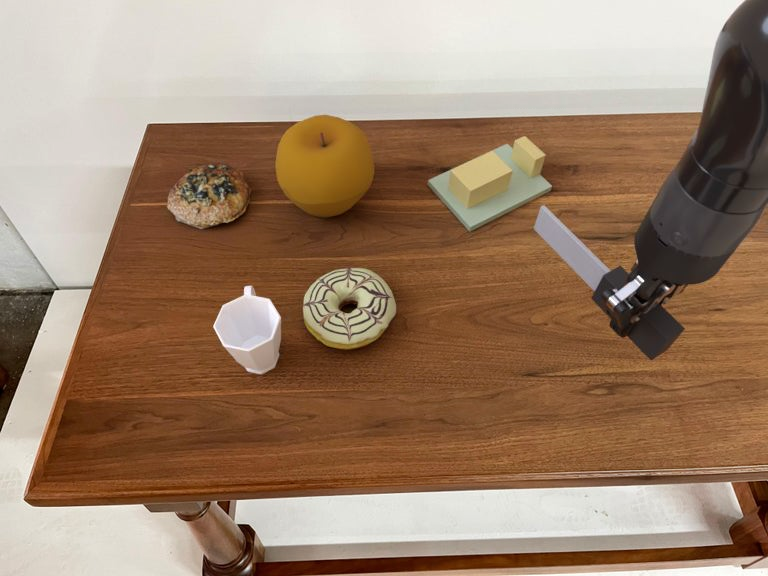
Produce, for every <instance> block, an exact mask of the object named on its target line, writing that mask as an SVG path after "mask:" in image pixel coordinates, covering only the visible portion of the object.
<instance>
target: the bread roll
mask: <svg viewBox="0 0 768 576" xmlns="http://www.w3.org/2000/svg"><path fill="white" fill-rule="evenodd" d="M251 194H252V188H251V187H250V184H249V182H248V179H247V178H246V176H245V174H243V172H242V171H240V170H238V169H237V168H235V167H233V166H231V165H229V164H226V163H221V162H214V163H208V164H202V165H199V166H196V167H193V168H192V169H189V170H188V171H186V173H185V174H184V175H182V177H180V179H179V180H177V182H176V183H175V184H174V185H173V186H172V188H170V191H169V193H168V197H167V204H166V208H167V210H168V211H170V213H172V215H173V216H174V218H175V221H176V222H181V223H182V224H185V225H188V226H192V227H193V228H197V229H200V230H203V229H207V228H211V227H214V226H215V227H216V226H218V225H220V224H224V223H226V224H228V223H230V222H233V221H234V220H236V219H238V218H240V217H241V216H242V215H243V214H244V213H245V212H246V211H247V207H248V205H249V203H250V201H251V198H250V196H251Z"/></svg>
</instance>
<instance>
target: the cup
mask: <svg viewBox="0 0 768 576" xmlns="http://www.w3.org/2000/svg"><path fill="white" fill-rule="evenodd" d="M243 288H244V289H243V295H241V296H239V297H237V298H235V299H233V300H231V301H229V302H227V303H224V304H223V305H222V306H221V308H220V310H219V312H218V315H217V317H216V319H215V321H214V324H213V326H212V327H213V329H214V331H215V333H216V335H217V337H218V339H219V340H220V342H221V345H222V346H223V347H224V349H225V350H226V351H227V352H228V353H229V354H230V356H231V357H232V358H233V359H234V360H235V361H236V363H237V364H239V365H241V366H242V367H243V368H245V370H246V372H248V373H252V374H257V375H264V374H265V373H267V372H270V371H272V370H273V369H275V368H276V365H277V363H278V360H279V357H280V352H279V350H280V346H281V341H282V317H281V315H280V313H279V312H278V310H277V309H276V306H275V305H274V303H273V302H272V300H271V298H267V297H262V296H257V293H256V290H255V288H254V286H253V285H252V284H251V285H245V286H244V287H243Z"/></svg>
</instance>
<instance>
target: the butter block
mask: <svg viewBox="0 0 768 576" xmlns="http://www.w3.org/2000/svg"><path fill="white" fill-rule="evenodd" d="M490 151H491V152H490ZM490 151H488V152H485V153H484V154H481V155H482V156H481V155H479V156H480V157H479V156H477V157H478V158H477V157H474V158H473V159H471V160H469V162H468V161H466V162H467V163H466V162H464V163H465V164H464V163H462V164H463V165H462V164H460V165H458V166H456V168H455V167H453V168H454V169H453V168H451V169H452V170H451V169H450V170H451V171H450V179H449V187H448V188H449V189H450V191H451V192H452V193H453V194H454V195H455V196H456V197H457V198H458V199H459V200H460V201H461V202H462V204H463V205H464V206H465V207H466V208H467V209H468V208H470V207H472V206H474V205H477V204H479V203H481V202H483V201H485V200H487V199H489V198H491V197H493V196H495V195H497V194H499V193H501V192H503V191H505V190H507V189H509V184H510V180H511V176H512V172H513V170H512V169H511V168H510V167H509V166H508V165H507V164H505V163H504V162H503V161H502V160H501V159H500V158H499V157H498V156H497V155H496V154H495V153H494V152H493V151H492V150H490Z"/></svg>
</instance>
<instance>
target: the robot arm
mask: <svg viewBox="0 0 768 576" xmlns="http://www.w3.org/2000/svg"><path fill="white" fill-rule="evenodd" d="M699 120H700V121H699V125H698V127H697V128H696V130H695V131H694V134H693V135H692V137H691V139H690V140H689V143H688V145H687V146H686V148H685V150H684V152H683V154H682V155H681V157H680V159H679V161H678V162H677V164H676V165H675V167H674V168H673V169H672V170H671V172H670V173H668V175H667V177H666V178H665V180H664V181H663V183H662V185H661V187H660V188H659V190H658V192H657V194H656V196H655V198H654V199H653V201H652V203H651V205H650V207H649V209H648V210H647V212H646V214H645V216H644V218H643V220H642V221H641V223H640V225H639V227H638V229H637V231H636V233H635V236H634V240H633V241H634V243H633V244H634V251H635V254H636V261H635V262H634V264H633V265H632V266H631V268H630V272H629V273H628V274H629V275H628V277H627V280H626V282H625V283H624V284H623V286H622V287H621V289H620V290H619V291H618V290H617V289H613V290H612V289H611V288H609V289H607V290H605V291H604V292H603V293H602V295H601V300H602V304H603V308H604V311H605V312H606V313H607V314H609V315H610V316H611V317H612V319H610V321H609V325H608V326H609V327H610V329H612V331H613V332H614V333H615V334H616V335H617V336H618V337H620V338H622V339H625V338H626V337H628V335H629V334H630V333H631V331H632V330H633V328H634V327H635V325H636V324H637V322H638V321H639V320H640V318H641V317H642V316H643V314H645V313H647V312H649V311H651V310H653V309H654V308H656V306H657V305H658V304H660V305H661V306H662V307H664V306H666V305H667V304H668V303H669V302H670V300H671V299H672V298H674V297H676V296H678V295H679V294H682V293H683V292H684V291H685V289H686V288H687V287H688V286H691V285H700V284H703V283H705V282H707V281H709V280H711V279H713V278H714V277H715V276H716V275H717V274H718V272H720V271H721V269H722V268H723V267H724V265H725V264H726V263H727V261H728V260H729V259H730V257H732V255H733V254H734V253H735V251H736V250H737V249H738V247H740V245H741V243H742V242H743V241H744V240H745V238H746V237H747V236H748V235H749V233H750V232H751V231H752V230H753V228H754V227H755V226H756V224H757V223H758V221H759V220H760V217H761V216H762V214H763V212H764V210H765V208H766V206H767V205H768V0H743V1H742V3H741V4H739V5H738V6H737V7H736V9H734V11H733V12H732V13H731V14H730V16H729V17H728V19H727V20H726V21H725V23H724V24H723V26H722V28H721V30H720V32H719V33H718V36H717V38H716V40H715V44H714V48H713V52H712V58H711V64H710V69H709V74H708V79H707V85H706V90H705V95H704V99H703V105H702V110H701V115H700V119H699ZM629 301H631V302H632V303H633V304H634V305H635V306H636V307H637V309H636V308H635V307H634V306H633V305H632V304H631V303H630V302H629ZM604 311H603V312H604ZM605 312H604V313H605ZM606 313H605V314H606Z"/></svg>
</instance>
